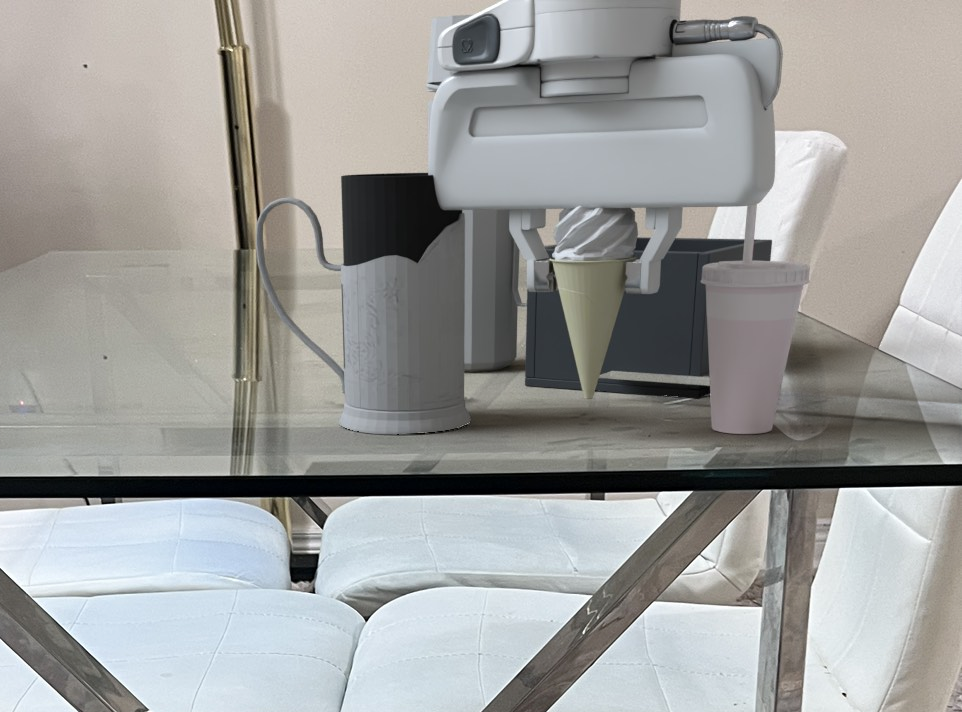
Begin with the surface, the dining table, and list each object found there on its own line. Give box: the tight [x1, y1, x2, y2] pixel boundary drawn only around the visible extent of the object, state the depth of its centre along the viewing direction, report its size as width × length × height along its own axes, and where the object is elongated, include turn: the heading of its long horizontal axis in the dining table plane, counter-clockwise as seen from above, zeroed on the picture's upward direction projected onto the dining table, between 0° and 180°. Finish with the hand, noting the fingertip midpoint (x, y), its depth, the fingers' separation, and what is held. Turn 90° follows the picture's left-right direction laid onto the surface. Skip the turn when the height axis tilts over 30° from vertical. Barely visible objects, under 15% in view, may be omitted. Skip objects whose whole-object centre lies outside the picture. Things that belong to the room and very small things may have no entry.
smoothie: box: [701, 204, 811, 435], centre depth 85 cm, size 6×6×14 cm
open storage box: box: [524, 236, 773, 400], centre depth 105 cm, size 14×14×10 cm
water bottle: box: [425, 14, 527, 373], centre depth 108 cm, size 9×8×25 cm
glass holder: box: [254, 172, 472, 435], centre depth 90 cm, size 9×14×15 cm, turn 73°
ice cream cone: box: [550, 206, 639, 400], centre depth 82 cm, size 5×5×15 cm
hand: (591, 292), depth 83 cm, fingers closed on ice cream cone, 5 cm apart
